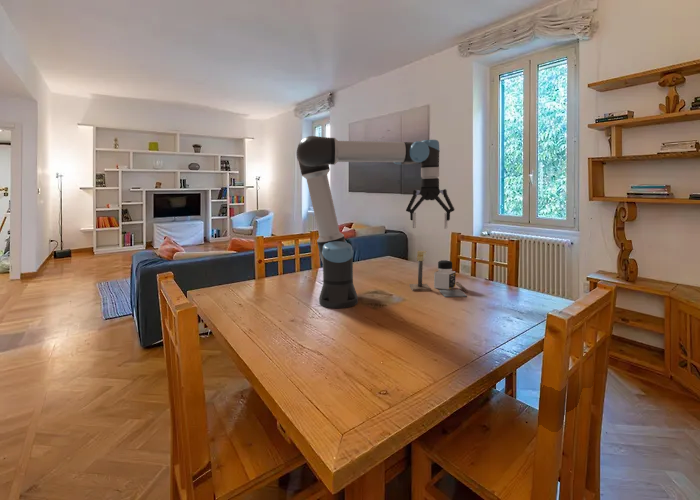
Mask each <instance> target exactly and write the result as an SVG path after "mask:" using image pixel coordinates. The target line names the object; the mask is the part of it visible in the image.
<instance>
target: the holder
mask: <svg viewBox="0 0 700 500" xmlns="http://www.w3.org/2000/svg"><path fill="white" fill-rule="evenodd" d="M417 262H418V265H417V267H418V269H417V283H409V288H410V289H411V290H412V292H431V291H432V288H431V286H430V285H429V284H428V283H423V270H424V269H423V264H424V263H423V262H424V261H417ZM455 285H456V286H457V287H459V288H460V290H461V291H462V292H464V293H468V291H469V290H468V289H467V288H466V287H464V286H463V285H462V284H461V283H459V281H455Z"/></svg>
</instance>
